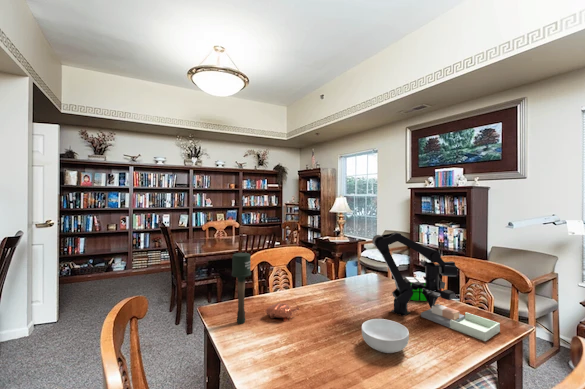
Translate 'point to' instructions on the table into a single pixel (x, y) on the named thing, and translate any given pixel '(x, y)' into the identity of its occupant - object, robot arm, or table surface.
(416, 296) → the puzzle cube
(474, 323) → the tray
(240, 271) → the stick grenade
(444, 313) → the terracotta tile
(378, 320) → the cereal bowl
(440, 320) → the slate plate
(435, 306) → the cream square block
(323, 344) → the table surface
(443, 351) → the table surface
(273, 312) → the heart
